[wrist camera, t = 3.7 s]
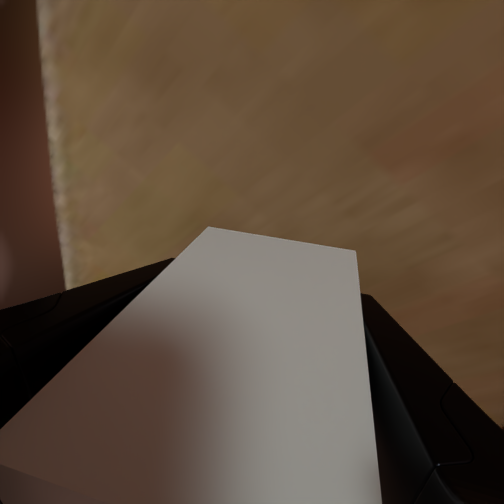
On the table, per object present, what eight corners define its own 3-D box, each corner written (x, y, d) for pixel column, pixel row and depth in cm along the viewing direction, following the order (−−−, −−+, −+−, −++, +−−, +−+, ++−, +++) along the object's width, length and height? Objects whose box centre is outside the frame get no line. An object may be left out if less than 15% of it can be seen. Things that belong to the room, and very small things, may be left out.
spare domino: (208, 226, 11) (-26, 454, 4) (355, 251, 10) (393, 609, 3) (208, 267, 12) (12, 520, 5) (345, 294, 11) (355, 660, 4)
